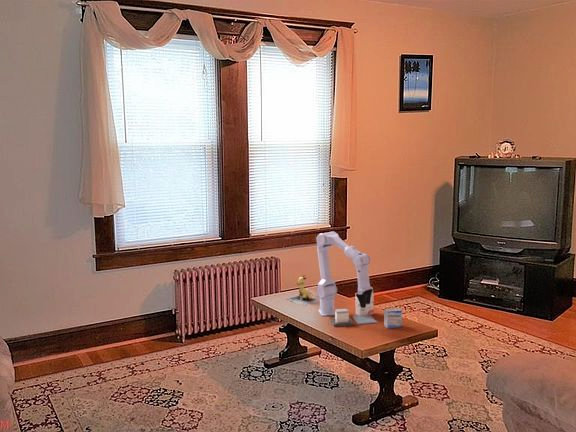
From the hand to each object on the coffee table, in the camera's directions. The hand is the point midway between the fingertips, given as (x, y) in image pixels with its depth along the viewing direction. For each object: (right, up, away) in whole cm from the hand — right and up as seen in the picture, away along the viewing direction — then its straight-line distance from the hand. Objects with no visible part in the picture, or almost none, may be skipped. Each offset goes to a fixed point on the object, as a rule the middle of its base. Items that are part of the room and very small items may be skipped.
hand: (365, 305), depth 280 cm
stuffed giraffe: (-28, -5, +47) cm, 55 cm away
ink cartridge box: (+2, -8, +19) cm, 21 cm away
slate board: (+1, -9, +10) cm, 13 cm away
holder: (-11, -10, +6) cm, 16 cm away
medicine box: (+14, -11, 0) cm, 17 cm away
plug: (-11, -10, +6) cm, 16 cm away
